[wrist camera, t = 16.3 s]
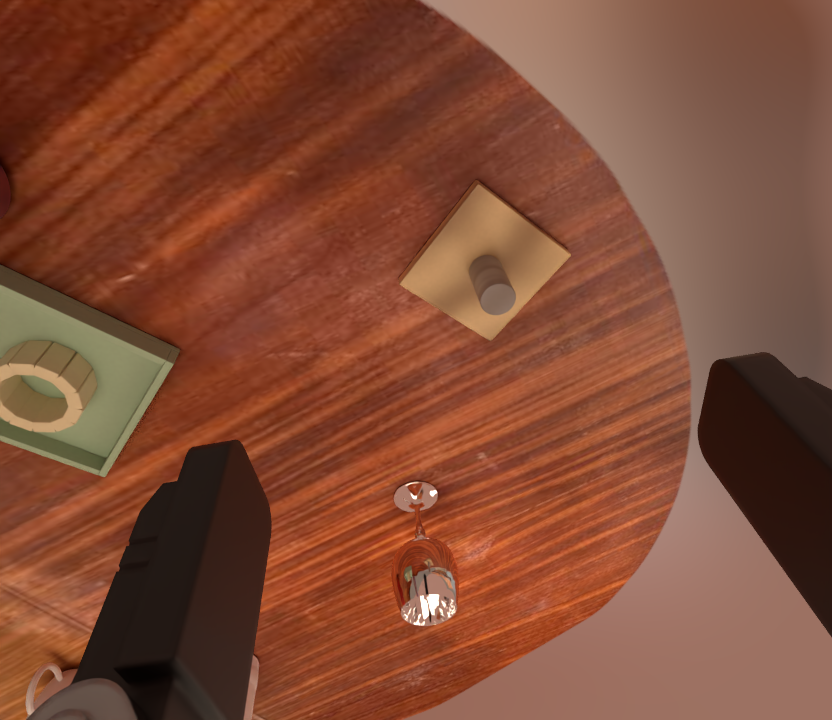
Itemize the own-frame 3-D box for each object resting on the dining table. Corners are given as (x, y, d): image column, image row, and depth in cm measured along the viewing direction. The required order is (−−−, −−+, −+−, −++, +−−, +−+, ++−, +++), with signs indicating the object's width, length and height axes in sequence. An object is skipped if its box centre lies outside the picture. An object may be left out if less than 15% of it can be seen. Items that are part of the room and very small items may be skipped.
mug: (133, 687, 71) (111, 758, 65) (70, 699, 71) (42, 771, 65) (81, 641, 64) (51, 715, 58) (12, 655, 64) (-26, 730, 58)
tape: (-6, 385, 43) (-28, 410, 40) (18, 325, 40) (-3, 349, 38) (80, 418, 45) (64, 444, 43) (109, 365, 43) (94, 389, 40)
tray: (-73, 392, 43) (-90, 409, 41) (-25, 252, 37) (-42, 265, 35) (113, 460, 49) (104, 477, 47) (180, 349, 43) (173, 364, 41)
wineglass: (453, 481, 54) (474, 594, 45) (432, 519, 57) (448, 632, 48) (397, 471, 53) (407, 585, 43) (379, 510, 56) (384, 625, 46)
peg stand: (397, 278, 41) (403, 316, 37) (475, 178, 37) (492, 207, 33) (488, 335, 45) (503, 375, 40) (567, 249, 41) (593, 283, 36)
